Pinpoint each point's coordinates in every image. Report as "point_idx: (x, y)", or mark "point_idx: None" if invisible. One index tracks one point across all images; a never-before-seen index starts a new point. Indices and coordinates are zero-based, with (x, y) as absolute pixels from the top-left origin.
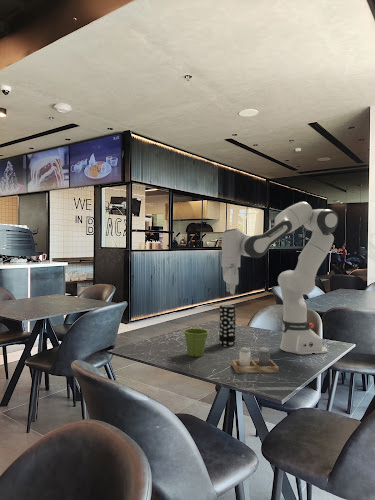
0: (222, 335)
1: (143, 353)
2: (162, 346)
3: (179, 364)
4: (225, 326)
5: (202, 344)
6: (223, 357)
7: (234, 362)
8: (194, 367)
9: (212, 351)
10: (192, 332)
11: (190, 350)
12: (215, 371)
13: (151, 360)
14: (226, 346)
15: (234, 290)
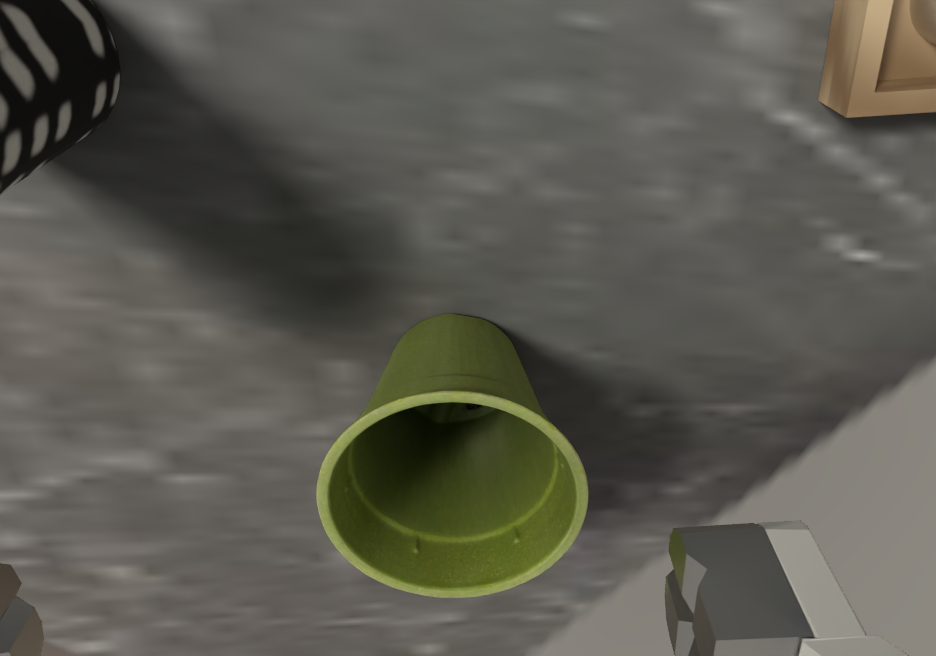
0: (53, 151)
1: (433, 646)
2: (242, 569)
3: (686, 463)
4: (2, 155)
5: (522, 380)
6: (523, 144)
7: (930, 100)
8: (768, 378)
9: (330, 229)
10: (351, 504)
11: (513, 433)
12: (894, 242)
13: (585, 601)
14: (119, 72)
15: (865, 635)
